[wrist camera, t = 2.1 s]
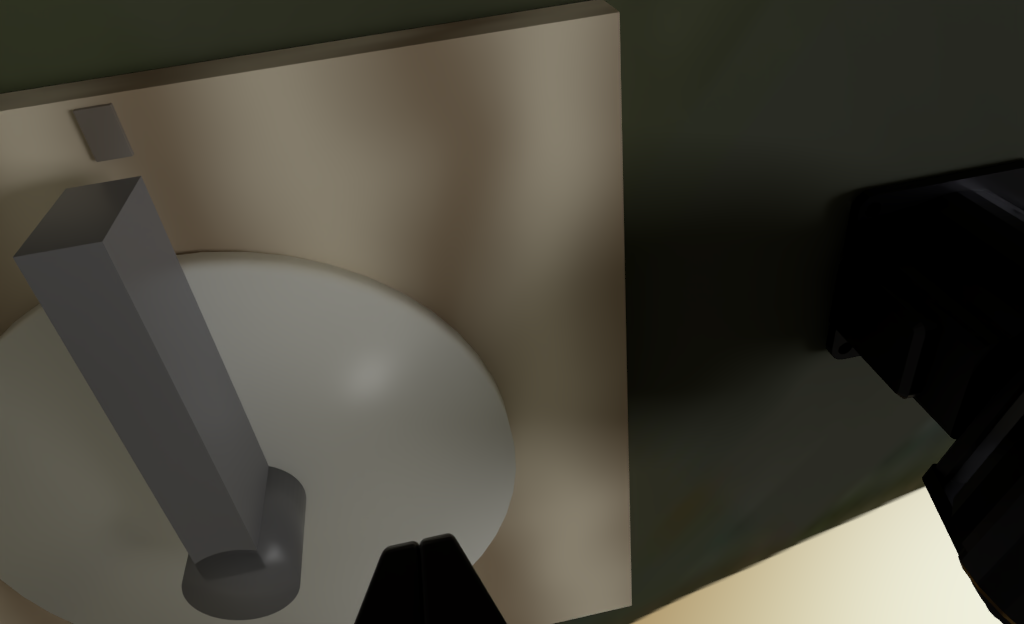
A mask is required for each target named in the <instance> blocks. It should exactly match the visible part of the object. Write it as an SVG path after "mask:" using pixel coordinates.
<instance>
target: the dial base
mask: <svg viewBox="0 0 1024 624" xmlns="http://www.w3.org/2000/svg"><path fill="white" fill-rule="evenodd" d="M137 176H142V179H143V181H144V183H145V185H146V188H147V190H148V192H149V195H150V197H151V199H152V201H153V204H154V206H155V208H156V211H157V213H158V215H159V217H160V220H161V222H162V224H163V226H164V229H165V231H166V233H167V236H168V238H169V240H170V242H171V245H172V247H173V249H174V251H175V254H176V255H182V254H191V253H199V252H255V253H265V254H276V255H286V256H292V257H297V258H302V259H307V260H312V261H316V262H321V263H326V264H331V265H334V266H337V267H340V268H343V269H346V270H349V271H352V272H355V273H358V274H361V275H364V276H367V277H370V278H372V279H374V280H376V281H378V282H381V283H383V284H385V285H387V286H389V287H391V288H394V289H396V290H398V291H400V292H402V293H404V294H406V295H407V296H409V297H410V298H412V299H414V300H415V301H417V302H418V303H420V304H422V305H423V306H425V307H426V308H428V309H430V310H431V311H433V312H434V313H435V314H436V315H438V316H439V317H440V318H441V319H443V320H444V321H445V322H446V323H447V324H449V325H450V326H451V327H452V328H453V329H455V330H456V331H457V332H458V333H459V334H460V335H461V336H462V337H463V338H464V340H465V341H466V342H467V343H468V344H469V345H470V346H471V347H472V348H473V349H474V350H475V352H476V353H477V354H478V355H479V357H480V358H481V360H482V361H483V363H484V364H485V366H486V367H487V369H488V370H489V372H490V373H491V375H492V376H493V378H494V381H495V383H496V385H497V387H498V390H499V392H500V394H501V397H502V399H503V401H504V405H505V409H506V413H507V417H508V421H509V425H510V429H511V433H512V437H513V441H514V446H515V461H516V474H515V482H514V490H513V494H512V498H511V501H510V504H509V507H508V511H507V514H506V516H505V518H504V520H503V522H502V524H501V526H500V528H499V530H498V532H497V534H496V536H495V537H494V539H493V540H492V542H491V543H490V545H489V546H488V547H487V549H486V550H485V552H484V553H483V555H482V556H481V557H480V558H479V559H478V560H477V561H476V562H475V563H474V565H473V568H474V569H475V571H476V573H477V574H478V576H479V578H480V579H481V581H482V583H483V584H484V586H485V588H486V589H487V591H488V593H489V594H490V596H491V598H492V599H493V601H494V603H495V604H496V606H497V608H498V609H499V611H500V613H501V614H502V616H503V618H504V619H505V621H506V623H507V624H553V623H558V622H562V621H566V620H571V619H575V618H579V617H584V616H588V615H593V614H597V613H601V612H606V611H610V610H614V609H619V608H623V607H627V606H632V596H631V547H630V498H629V450H628V401H627V353H626V304H625V256H624V207H623V158H622V110H621V61H620V13H619V11H617V10H616V9H615V8H613V7H612V6H611V5H609V4H608V3H607V2H605V1H604V0H591V1H585V2H579V3H572V4H566V5H560V6H553V7H547V8H541V9H534V10H528V11H522V12H515V13H509V14H503V15H496V16H490V17H484V18H477V19H471V20H465V21H458V22H452V23H446V24H439V25H433V26H427V27H421V28H414V29H408V30H402V31H395V32H389V33H383V34H376V35H370V36H364V37H357V38H351V39H345V40H338V41H332V42H326V43H319V44H313V45H307V46H300V47H294V48H288V49H281V50H275V51H269V52H262V53H256V54H250V55H243V56H237V57H231V58H225V59H218V60H212V61H206V62H199V63H193V64H187V65H180V66H174V67H168V68H161V69H155V70H149V71H142V72H136V73H130V74H123V75H117V76H111V77H104V78H98V79H92V80H85V81H79V82H73V83H66V84H60V85H54V86H48V87H41V88H35V89H29V90H22V91H16V92H10V93H3V94H0V336H1V335H2V334H3V333H4V332H5V331H6V330H7V329H8V328H9V327H10V326H11V325H12V324H13V323H14V322H15V321H16V320H18V319H19V318H20V317H22V316H23V315H24V314H26V313H27V312H28V311H30V310H31V309H33V308H34V307H35V306H37V305H38V304H39V301H38V299H37V298H36V296H35V294H34V293H33V291H32V289H31V287H30V286H29V284H28V282H27V281H26V279H25V277H24V276H23V274H22V272H21V271H20V269H19V267H18V266H17V264H16V262H15V260H14V259H13V256H14V255H15V254H16V252H17V251H18V250H19V249H20V247H21V246H22V245H23V243H24V242H25V241H26V239H27V238H28V237H29V236H30V234H31V233H32V232H33V230H34V229H35V228H36V227H37V225H38V224H39V223H40V221H41V220H42V219H43V217H44V216H45V215H46V214H47V212H48V211H49V210H50V208H51V207H52V206H53V205H54V203H55V202H56V201H57V199H58V198H59V197H60V195H61V194H62V193H63V192H64V190H65V189H66V188H72V187H78V186H84V185H90V184H96V183H102V182H108V181H114V180H119V179H125V178H131V177H137ZM0 624H73V623H71V622H69V621H67V620H64V619H62V618H60V617H58V616H56V615H54V614H52V613H50V612H48V611H46V610H45V609H43V608H41V607H39V606H38V605H36V604H34V603H33V602H31V601H29V600H28V599H26V598H24V597H23V596H22V595H20V594H19V593H18V592H16V591H15V590H14V589H12V588H11V587H10V586H9V585H7V584H6V583H5V582H3V581H2V580H1V579H0Z"/></svg>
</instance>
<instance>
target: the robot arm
mask: <svg viewBox="0 0 1024 624" xmlns="http://www.w3.org/2000/svg"><path fill="white" fill-rule="evenodd" d="M872 203H873V206H872V207H871V208H870V209H869V210H867V211H866V209H867V207H868V206H869V205H870V204H872ZM829 322H830V325H829V331H828V336H827V341H826V349H827V350H828V351H829V352H830V354H831V355H832V356H833V357H834V358H836V359H847V358H852V357H856V356H861V357H862V358H863V359H864V360H865V361H866V362H867V363H868V364H869V365H870V366H871V367H872V369H873V370H874V371H875V372H876V373H877V374H878V375H879V376H880V377H881V378H882V379H883V380H884V381H885V383H886V384H887V385H888V386H889V387H890V388H891V389H892V390H893V391H894V392H895V393H896V394H897V395H899V396H900V397H902V398H903V399H906V398H911V397H913V398H914V399H915V400H916V401H917V402H918V403H919V404H920V405H921V406H922V407H923V408H924V410H925V411H926V412H927V413H928V414H929V415H930V416H931V417H932V418H933V419H934V420H935V421H936V422H937V423H938V424H939V425H940V426H941V427H942V428H943V429H944V430H945V431H946V433H947V434H948V435H949V436H950V437H951V438H953V439H957V440H956V441H955V442H954V443H953V445H952V446H951V447H950V448H949V450H948V451H947V452H946V453H945V455H944V456H943V457H942V458H941V460H940V461H939V462H938V463H937V464H932V466H931V467H930V468H929V469H928V471H927V472H926V473H925V474H924V476H923V477H922V480H923V482H924V484H925V486H926V488H927V490H928V492H929V494H930V497H931V498H932V501H933V503H934V505H935V507H936V509H937V511H938V513H939V515H940V517H941V519H942V521H943V523H944V525H945V527H946V530H947V532H948V534H949V536H950V538H951V540H952V542H953V544H954V546H955V548H956V550H957V553H958V555H959V556H958V557H959V560H960V563H961V565H962V568H963V570H964V571H965V572H966V574H967V575H968V576H969V578H970V579H971V582H972V584H973V585H974V587H975V589H976V591H977V592H978V594H979V596H980V597H981V599H982V600H983V601H984V603H985V604H986V606H987V608H988V609H989V611H990V612H991V613H992V614H993V615H994V616H995V617H996V618H997V619H999V620H1000V621H1001V622H1002V623H1003V624H1024V161H1021V162H1015V163H1010V164H1005V165H999V166H994V167H989V168H983V169H978V170H972V171H967V172H962V173H956V174H951V175H946V176H940V177H935V178H929V179H924V180H919V181H913V182H908V183H903V184H897V185H892V186H887V187H881V188H876V189H870V190H867V191H864V192H862V193H861V194H859V195H858V196H857V197H856V198H855V200H854V201H853V203H852V206H851V210H850V216H849V221H848V227H847V232H846V238H845V243H844V248H843V254H842V259H841V261H840V263H839V268H838V273H837V279H836V284H835V290H834V295H833V301H832V306H831V312H830V317H829ZM842 344H843V345H842ZM841 345H842V346H841ZM354 624H507V623H506V621H505V619H504V618H503V616H502V614H501V613H500V611H499V609H498V608H497V606H496V604H495V603H494V601H493V599H492V598H491V596H490V594H489V593H488V591H487V589H486V588H485V586H484V584H483V583H482V581H481V579H480V578H479V576H478V574H477V573H476V571H475V569H474V568H473V566H472V564H471V563H470V561H469V559H468V558H467V556H466V554H465V553H464V551H463V549H462V548H461V546H460V544H459V543H458V541H457V539H456V538H455V536H454V535H452V534H450V533H446V534H441V535H437V536H432V537H428V538H424V539H423V540H422V541H421V542H420V545H419V544H418V542H416V541H409V542H405V543H400V544H395V545H391V546H388V547H386V548H385V549H384V550H383V552H382V554H381V556H380V558H379V561H378V563H377V566H376V569H375V571H374V574H373V576H372V579H371V581H370V584H369V586H368V589H367V592H366V594H365V597H364V599H363V602H362V604H361V607H360V610H359V612H358V615H357V617H356V620H355V622H354Z"/></svg>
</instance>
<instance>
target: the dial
mask: <svg viewBox="0 0 1024 624" xmlns="http://www.w3.org/2000/svg"><path fill="white" fill-rule="evenodd" d="M13 259H14V260H15V262H16V264H17V266H18V267H19V269H20V271H21V272H22V274H23V276H24V277H25V279H26V281H27V282H28V284H29V286H30V287H31V289H32V291H33V293H34V294H35V296H36V298H37V299H38V301H39V304H38V305H37V306H35V307H34V308H33V309H31V310H30V311H28V312H27V313H26V314H24V315H23V316H22V317H20V318H19V319H18V320H16V321H15V322H14V323H13V324H12V325H11V326H10V327H9V328H8V329H7V330H6V331H5V332H4V333H3V334H2V335H1V336H0V579H1V580H2V581H3V582H5V583H6V584H7V585H9V586H10V587H11V588H12V589H14V590H15V591H16V592H18V593H19V594H20V595H22V596H23V597H24V598H26V599H28V600H29V601H31V602H33V603H34V604H36V605H38V606H39V607H41V608H43V609H45V610H46V611H48V612H50V613H52V614H54V615H56V616H58V617H60V618H62V619H64V620H67V621H69V622H71V623H73V624H354V622H355V620H356V617H357V615H358V612H359V610H360V607H361V604H362V602H363V599H364V597H365V594H366V592H367V589H368V586H369V584H370V581H371V579H372V576H373V574H374V571H375V569H376V566H377V563H378V561H379V558H380V556H381V554H382V552H383V550H384V549H385V548H386V547H388V546H391V545H395V544H400V543H405V542H409V541H416V542H418V544H419V545H420V542H421V541H422V540H423V539H424V538H428V537H432V536H437V535H441V534H446V533H450V534H452V535H454V536H455V538H456V539H457V541H458V543H459V544H460V546H461V548H462V549H463V551H464V553H465V554H466V556H467V558H468V559H469V561H470V563H471V564H472V566H473V565H474V563H475V562H476V561H477V560H478V559H479V558H480V557H481V556H482V555H483V553H484V552H485V550H486V549H487V547H488V546H489V545H490V543H491V542H492V540H493V539H494V537H495V536H496V534H497V532H498V530H499V528H500V526H501V524H502V522H503V520H504V518H505V516H506V514H507V511H508V507H509V504H510V501H511V498H512V494H513V490H514V482H515V474H516V461H515V446H514V441H513V437H512V433H511V429H510V425H509V421H508V417H507V413H506V409H505V405H504V401H503V399H502V397H501V394H500V392H499V390H498V387H497V385H496V383H495V381H494V378H493V376H492V375H491V373H490V372H489V370H488V369H487V367H486V366H485V364H484V363H483V361H482V360H481V358H480V357H479V355H478V354H477V353H476V352H475V350H474V349H473V348H472V347H471V346H470V345H469V344H468V343H467V342H466V341H465V340H464V338H463V337H462V336H461V335H460V334H459V333H458V332H457V331H456V330H455V329H453V328H452V327H451V326H450V325H449V324H447V323H446V322H445V321H444V320H443V319H441V318H440V317H439V316H438V315H436V314H435V313H434V312H433V311H431V310H430V309H428V308H426V307H425V306H423V305H422V304H420V303H418V302H417V301H415V300H414V299H412V298H410V297H409V296H407V295H406V294H404V293H402V292H400V291H398V290H396V289H394V288H391V287H389V286H387V285H385V284H383V283H381V282H378V281H376V280H374V279H372V278H370V277H367V276H364V275H361V274H358V273H355V272H352V271H349V270H346V269H343V268H340V267H337V266H334V265H331V264H326V263H321V262H316V261H312V260H307V259H302V258H297V257H292V256H286V255H276V254H265V253H255V252H199V253H191V254H182V255H176V254H175V251H174V249H173V247H172V245H171V242H170V240H169V238H168V236H167V233H166V231H165V229H164V226H163V224H162V222H161V220H160V217H159V215H158V213H157V211H156V208H155V206H154V204H153V201H152V199H151V197H150V195H149V192H148V190H147V188H146V185H145V183H144V181H143V179H142V176H137V177H131V178H125V179H119V180H114V181H108V182H102V183H96V184H90V185H84V186H78V187H72V188H66V189H65V190H64V192H63V193H62V194H61V195H60V197H59V198H58V199H57V201H56V202H55V203H54V205H53V206H52V207H51V208H50V210H49V211H48V212H47V214H46V215H45V216H44V217H43V219H42V220H41V221H40V223H39V224H38V225H37V227H36V228H35V229H34V230H33V232H32V233H31V234H30V236H29V237H28V238H27V239H26V241H25V242H24V243H23V245H22V246H21V247H20V249H19V250H18V251H17V252H16V254H15V255H14V256H13Z"/></svg>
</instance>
